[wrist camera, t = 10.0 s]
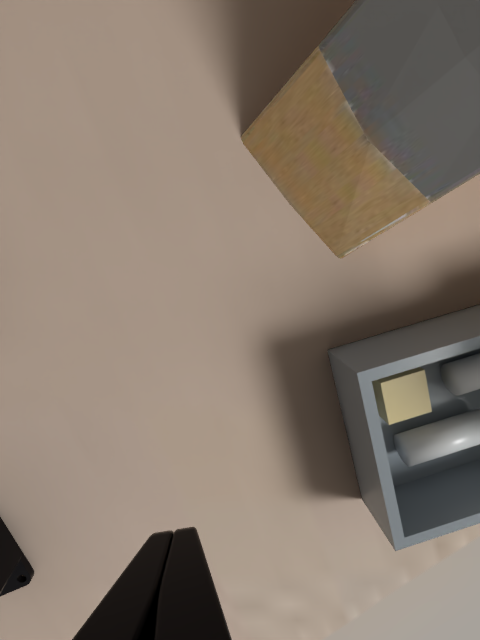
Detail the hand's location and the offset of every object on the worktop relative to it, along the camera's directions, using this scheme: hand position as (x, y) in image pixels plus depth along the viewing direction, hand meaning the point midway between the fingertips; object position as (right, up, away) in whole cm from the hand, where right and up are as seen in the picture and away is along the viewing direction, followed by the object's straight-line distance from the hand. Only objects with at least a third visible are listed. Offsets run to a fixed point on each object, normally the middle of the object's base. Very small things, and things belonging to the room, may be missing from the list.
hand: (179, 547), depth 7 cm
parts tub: (+14, 0, +15) cm, 21 cm away
